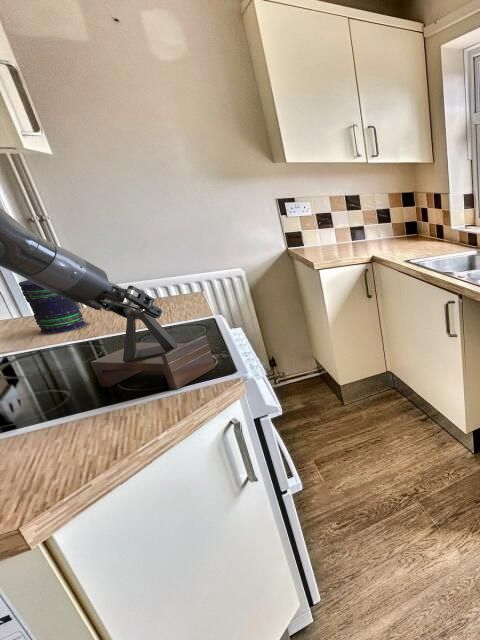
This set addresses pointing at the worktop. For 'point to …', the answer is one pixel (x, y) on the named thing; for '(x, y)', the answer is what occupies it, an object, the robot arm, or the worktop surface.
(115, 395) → the worktop surface
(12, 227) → the robot arm
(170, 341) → the phone stand
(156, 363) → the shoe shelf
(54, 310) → the blue green striped cylinder
